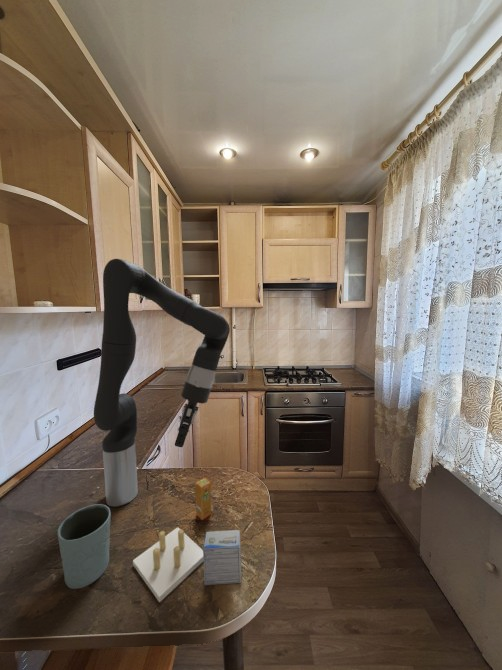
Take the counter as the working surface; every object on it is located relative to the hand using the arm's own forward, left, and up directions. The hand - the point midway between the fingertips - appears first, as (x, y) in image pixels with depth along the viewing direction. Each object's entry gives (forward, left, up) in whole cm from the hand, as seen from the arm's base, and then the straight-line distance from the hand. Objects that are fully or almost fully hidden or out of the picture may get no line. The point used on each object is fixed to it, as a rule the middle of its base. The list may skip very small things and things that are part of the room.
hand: (180, 440), depth 68 cm
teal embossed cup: (-6, -22, -24) cm, 33 cm away
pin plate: (+7, -9, -24) cm, 26 cm away
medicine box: (+19, -3, -24) cm, 31 cm away
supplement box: (+2, +5, -24) cm, 25 cm away
